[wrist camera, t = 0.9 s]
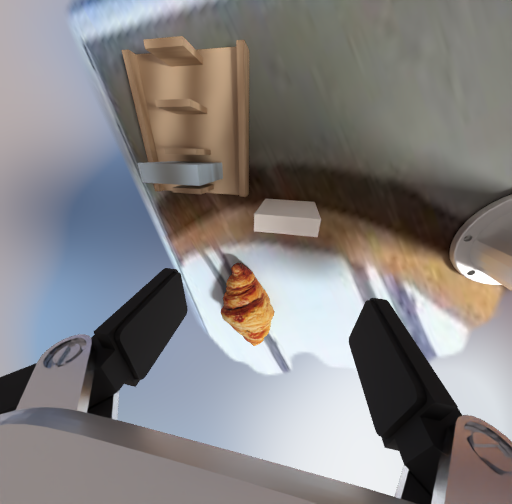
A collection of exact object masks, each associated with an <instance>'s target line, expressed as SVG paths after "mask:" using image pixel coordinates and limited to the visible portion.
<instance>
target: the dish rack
mask: <svg viewBox="0 0 512 504" xmlns="http://www.w3.org/2000/svg"><path fill="white" fill-rule="evenodd" d="M236 44H237V47H226V48H213V49H200V50H195V49H194V48H193V47H192V46H191V45H190V44H189V42H188V41H187V40H186V39H185V38H184V37H183V36H178V37H167V38H157V39H146V40H144V45H145V49H146V50H148V51H149V52H150V53H148V54H134V53H133V52H131V51H129V50H122V53H123V57H124V62H125V66H126V70H127V74H128V79H129V83H130V87H131V91H132V95H133V100H134V104H135V108H136V112H137V117H138V121H139V125H140V129H141V133H142V138H143V142H144V146H145V150H146V155H147V159H148V162H146V163H137V164H138V168H139V172H140V175H141V179H142V183H153V184H154V188H155V191H163V190H169V191H173V192H175V193H190V194H203V193H217V194H232V195H240V197H246V196H247V195H248V194H249V49H248V47H247V45H246V43H245V40H237V41H236Z"/></svg>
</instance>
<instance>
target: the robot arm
mask: <svg viewBox="0 0 512 504" xmlns="http://www.w3.org/2000/svg"><path fill="white" fill-rule="evenodd" d="M449 254H450V261H451V263H452V265H453V267H454V268H455V269H456V270H457V271H458V272H459V273H461V274H462V275H463V276H465V277H466V278H468V279H470V280H472V281H475V282H479V283H483V284H491V285H503V286H505V287H506V288H508V289H510V290H511V291H512V195H509V196H506V197H503V198H501V199H499V200H497V201H495V202H493V203H491V204H489V205H488V206H486V207H484V208H483V209H481V210H480V211H478V212H477V213H476V214H474V215H473V216H472V217H471V218H470V219H468V220H467V221H466V222H465V223H464V225H463V226H462V227H461V228H460V229H459V230H458V232H457V233H456V235H455V236H454V238H453V241H452V243H451V246H450V253H449ZM186 314H187V304H186V299H185V294H184V289H183V284H182V278H181V274H180V273H178V271H177V270H176V269H169V268H165V269H163V270H162V271H161V272H160V273H159V274H158V275H157V276H155V277H154V278H153V279H152V280H151V281H150V282H149V283H148V284H146V285H145V286H144V287H143V288H142V289H141V290H140V291H139V292H138V293H136V294H135V295H134V296H133V297H132V298H131V299H130V300H129V301H128V302H126V303H125V304H124V305H123V306H122V307H121V308H120V309H119V310H117V311H116V312H115V313H114V314H113V315H112V316H111V317H110V318H108V319H107V320H106V321H105V322H104V323H103V324H102V325H101V326H99V327H98V328H97V329H96V330H95V331H94V334H95V335H94V336H93V337H92V338H90V336H88V335H75V336H71V337H69V338H66V339H63V340H62V341H60V342H58V343H56V344H55V345H53V346H52V347H51V348H49V349H48V350H47V351H46V352H45V353H44V354H43V355H42V356H41V357H40V359H39V361H38V362H37V363H36V364H33V365H31V366H28V367H26V368H23V369H20V370H18V371H15V372H13V373H10V374H8V375H5V376H3V377H0V504H512V442H511V441H510V440H509V439H508V438H507V437H506V436H505V435H504V434H502V433H501V432H500V431H499V430H497V429H496V428H494V427H493V426H492V425H490V424H488V423H486V422H485V421H483V420H481V419H479V418H476V417H474V416H468V415H463V416H462V414H461V413H460V411H459V410H458V408H457V405H456V403H455V402H454V400H453V399H452V398H451V396H450V395H449V393H448V391H447V390H446V388H445V387H444V385H443V384H442V382H441V381H440V379H439V378H438V376H437V375H436V373H435V372H434V370H433V369H432V367H431V366H430V364H429V363H428V361H427V360H426V358H425V356H424V355H423V353H422V352H421V350H420V349H419V347H418V346H417V344H416V343H415V341H414V340H413V338H412V337H411V335H410V334H409V332H408V331H407V329H406V328H405V326H404V325H403V323H402V322H401V320H400V319H399V317H398V316H397V314H396V312H395V311H394V309H393V308H392V306H391V305H390V303H389V302H388V301H387V300H384V299H377V298H371V299H370V300H367V301H366V302H365V304H364V306H363V309H362V311H361V313H360V315H359V317H358V320H357V322H356V324H355V326H354V328H353V330H352V333H351V335H350V337H349V345H350V348H351V352H352V355H353V358H354V361H355V365H356V368H357V371H358V375H359V378H360V381H361V384H362V388H363V391H364V394H365V398H366V401H367V404H368V407H369V411H370V414H371V417H372V421H373V424H374V427H375V430H376V432H377V434H378V435H379V436H381V437H382V440H383V443H384V446H385V448H389V449H394V450H398V451H400V454H401V457H402V460H403V462H404V467H403V470H402V473H401V477H400V480H399V483H398V487H397V490H396V493H395V497H393V496H389V495H386V494H383V493H379V492H376V491H373V490H370V489H366V488H363V487H359V486H355V485H352V484H348V483H345V482H341V481H338V480H334V479H331V478H327V477H323V476H320V475H316V474H313V473H309V472H305V471H302V470H298V469H295V468H291V467H288V466H284V465H280V464H277V463H273V462H269V461H266V460H262V459H259V458H255V457H251V456H248V455H244V454H241V453H237V452H233V451H230V450H226V449H222V448H219V447H215V446H211V445H208V444H204V443H200V442H197V441H193V440H189V439H185V438H182V437H178V436H175V435H171V434H167V433H163V432H160V431H155V430H152V429H148V428H145V427H141V426H137V425H134V424H130V423H126V422H122V421H118V420H117V415H118V399H119V390H120V388H121V387H122V386H123V384H127V385H131V386H136V385H137V384H138V382H139V381H140V380H141V379H143V378H144V377H145V376H146V375H147V373H148V372H149V370H150V369H151V367H152V366H153V364H154V363H155V361H156V360H157V358H158V357H159V355H160V354H161V352H162V351H163V349H164V348H165V346H166V345H167V343H168V342H169V340H170V339H171V337H172V335H173V334H174V332H175V331H176V329H177V328H178V326H179V325H180V323H181V322H182V320H183V319H184V317H185V316H186Z"/></svg>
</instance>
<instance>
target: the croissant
mask: <svg viewBox="0 0 512 504" xmlns="http://www.w3.org/2000/svg"><path fill="white" fill-rule="evenodd" d="M231 269H232V275H231V276H230V277H229V278H228V280H227V283H226V285H227V287H226V292H225V295H224V297H223V301H224V306H223V308H222V309H221V314H222V317H223V319H224V320H225V321H226V322H228V323H229V324H230V325H231V326H232V327H233V328H234V329H235V330H236V331H237V332H238V333H240V334H241V335H243V337H244V338H245V340H247V341H248V342H250V343H251V344H252V345H253V346H256V345H258V344H260V343H261V342H262V341H263V340H264V337H265V336H266V335H267V334H268V333H269V330H270V325H271V320H272V317H273V316H274V310H273V308H272V306H271V305H270V300H269V297H268V295H267V293H266V292H265V290H264V289H263V288H262V286H261V284H260V283H259V282H258V280H257V279H256V278H255V276H254V274H253V272H252V271H251V270H249V269H248V268H247V267H245V266H244V265H243V264H242V263H236V264H234V265H233V267H232V268H231Z"/></svg>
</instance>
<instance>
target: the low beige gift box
mask: <svg viewBox="0 0 512 504" xmlns="http://www.w3.org/2000/svg"><path fill="white" fill-rule="evenodd" d="M320 222H321V218H320V215H319V212H318V210H317V207H316V204H315V202H309V201H294V200H279V199H265V200H264V201H263V203H262V204H261V205H260V207H259V208H258V209H257V211H256V212H255V213H254V231H258V232H268V233H279V234H289V235H299V236H310V237H318V232H319V227H320Z"/></svg>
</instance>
